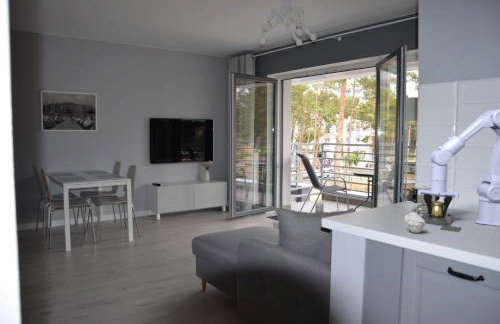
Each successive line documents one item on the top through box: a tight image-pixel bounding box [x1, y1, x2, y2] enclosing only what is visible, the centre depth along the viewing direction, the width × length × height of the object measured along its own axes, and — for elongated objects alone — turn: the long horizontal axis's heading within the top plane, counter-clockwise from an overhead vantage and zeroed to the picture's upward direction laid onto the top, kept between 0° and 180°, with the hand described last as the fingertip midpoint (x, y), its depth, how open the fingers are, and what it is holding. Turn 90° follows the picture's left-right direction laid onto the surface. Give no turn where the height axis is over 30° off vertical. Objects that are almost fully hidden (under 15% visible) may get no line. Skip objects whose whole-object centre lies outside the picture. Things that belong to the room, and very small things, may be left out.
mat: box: [439, 225, 462, 233], centre depth 143 cm, size 6×6×1 cm
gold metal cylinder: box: [431, 200, 444, 218], centre depth 155 cm, size 5×5×8 cm
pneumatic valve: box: [408, 185, 440, 215], centre depth 171 cm, size 6×12×12 cm, turn 89°
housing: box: [420, 212, 455, 227], centre depth 155 cm, size 14×10×2 cm
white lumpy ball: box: [404, 212, 426, 234], centre depth 137 cm, size 6×7×7 cm
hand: (437, 214), depth 155 cm, fingers closed on gold metal cylinder, 5 cm apart
